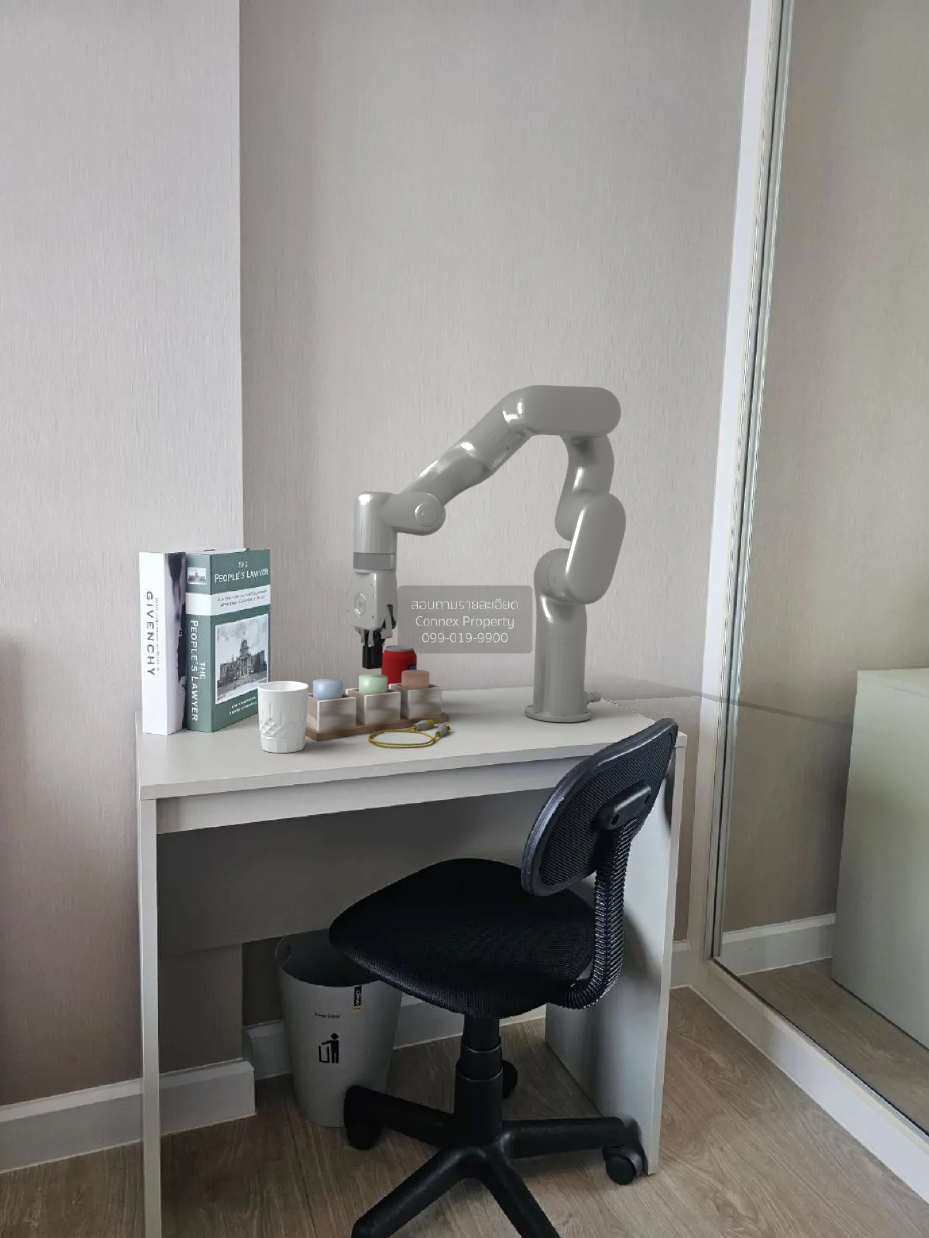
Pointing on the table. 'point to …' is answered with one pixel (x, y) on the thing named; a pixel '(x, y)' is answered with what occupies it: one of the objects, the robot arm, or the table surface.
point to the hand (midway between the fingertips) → (372, 667)
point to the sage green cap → (373, 684)
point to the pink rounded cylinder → (415, 679)
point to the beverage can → (397, 662)
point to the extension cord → (417, 727)
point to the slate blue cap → (327, 689)
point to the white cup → (282, 715)
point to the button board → (373, 711)
